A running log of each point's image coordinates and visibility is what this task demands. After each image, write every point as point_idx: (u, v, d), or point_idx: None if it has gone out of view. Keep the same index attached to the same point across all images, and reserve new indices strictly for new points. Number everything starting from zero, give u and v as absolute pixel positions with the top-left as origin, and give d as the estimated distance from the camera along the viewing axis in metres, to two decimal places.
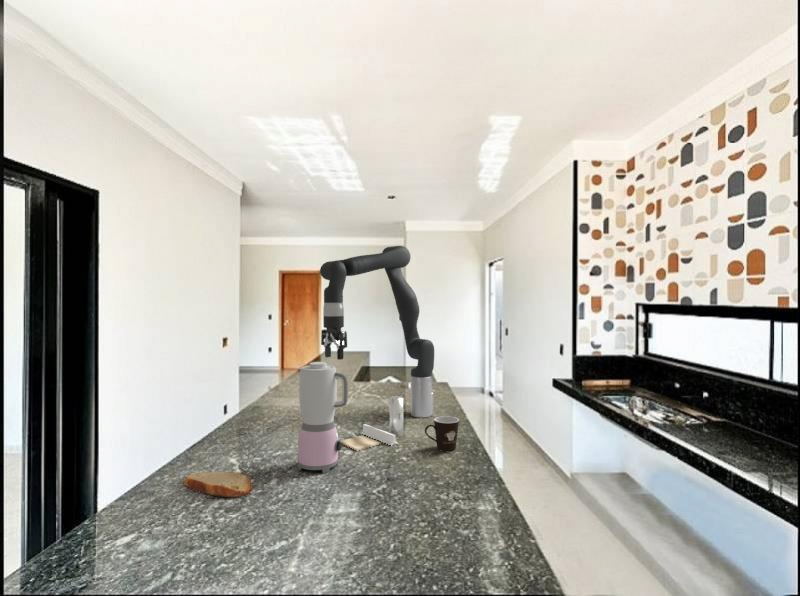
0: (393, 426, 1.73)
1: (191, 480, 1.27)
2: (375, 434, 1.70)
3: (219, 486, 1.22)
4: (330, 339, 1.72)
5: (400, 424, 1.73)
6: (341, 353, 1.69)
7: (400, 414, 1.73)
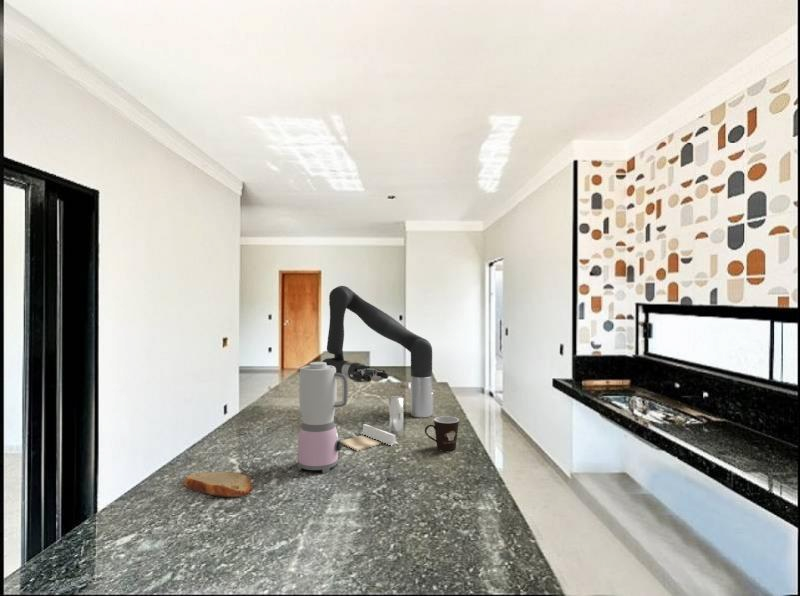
0: (393, 426, 1.73)
1: (191, 480, 1.27)
2: (375, 434, 1.70)
3: (219, 486, 1.22)
4: None
5: (400, 424, 1.73)
6: (364, 378, 1.81)
7: (400, 414, 1.73)
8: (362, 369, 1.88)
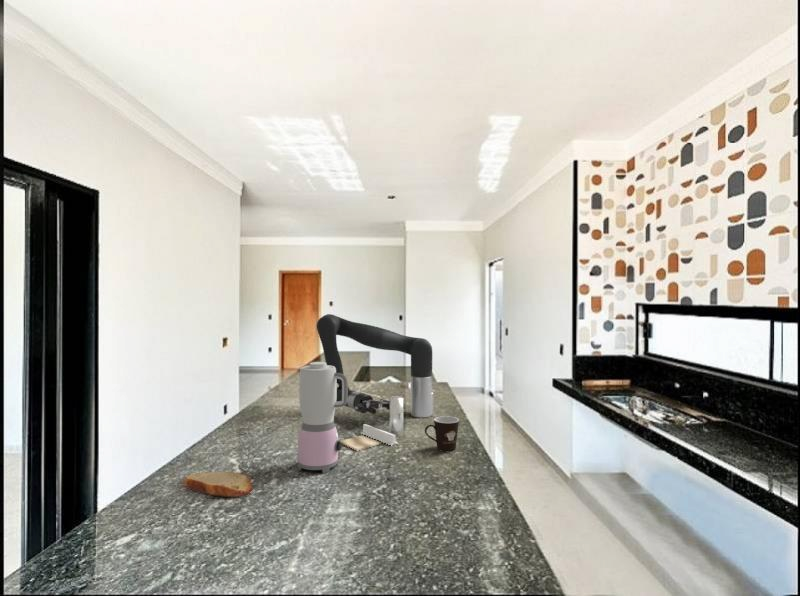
0: (393, 426, 1.73)
1: (191, 480, 1.27)
2: (375, 434, 1.70)
3: (219, 486, 1.22)
4: None
5: (400, 424, 1.73)
6: (369, 410, 1.79)
7: (400, 414, 1.73)
8: (367, 401, 1.86)
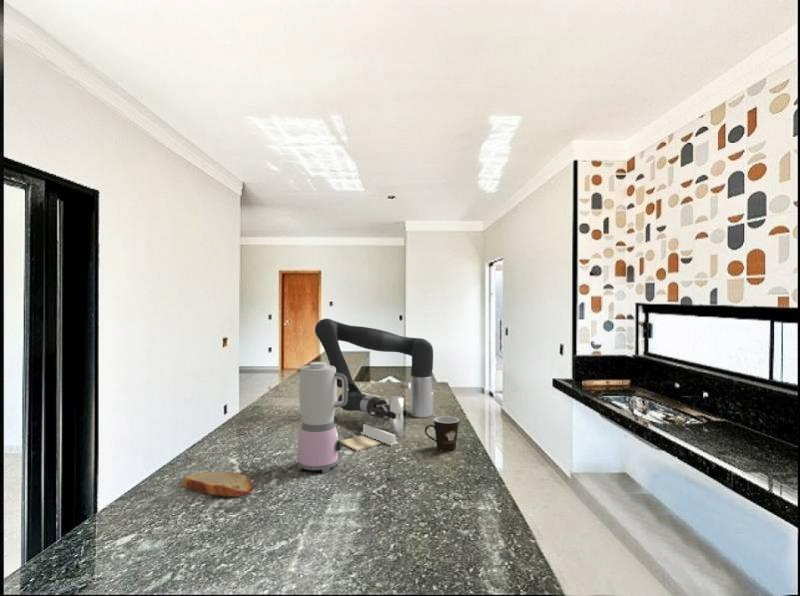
0: (393, 426, 1.73)
1: (190, 480, 1.27)
2: (375, 434, 1.70)
3: (220, 486, 1.22)
4: None
5: (400, 424, 1.73)
6: (389, 415, 1.72)
7: (400, 414, 1.73)
8: (382, 405, 1.79)
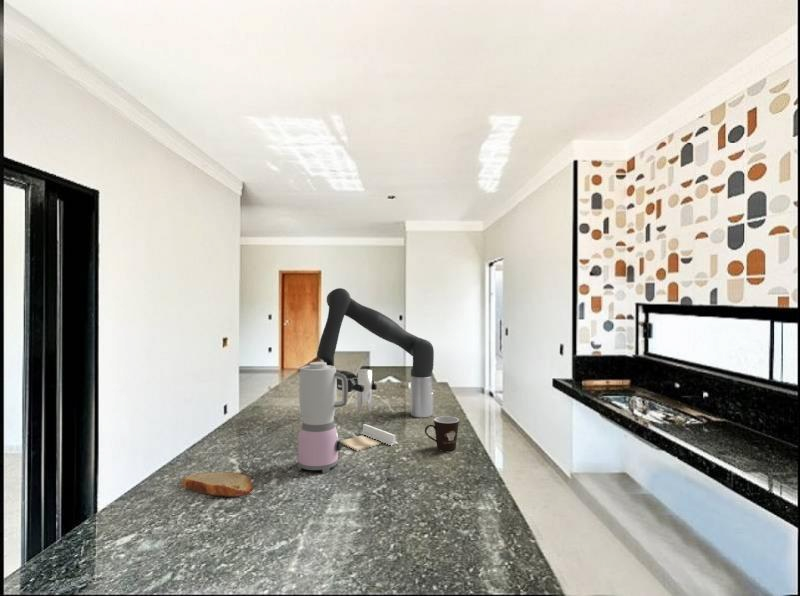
0: (360, 400, 1.63)
1: (190, 481, 1.27)
2: (375, 434, 1.70)
3: (220, 486, 1.22)
4: None
5: (368, 398, 1.64)
6: (356, 388, 1.63)
7: (368, 388, 1.64)
8: (350, 378, 1.70)
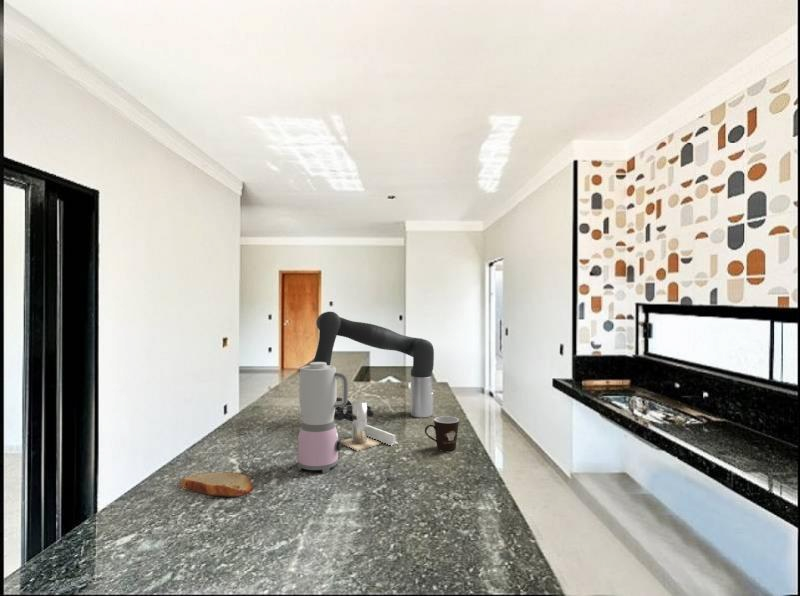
0: (355, 433, 1.62)
1: (189, 481, 1.26)
2: (375, 434, 1.70)
3: (220, 486, 1.22)
4: None
5: (363, 431, 1.62)
6: (346, 417, 1.61)
7: (363, 420, 1.62)
8: (345, 406, 1.68)
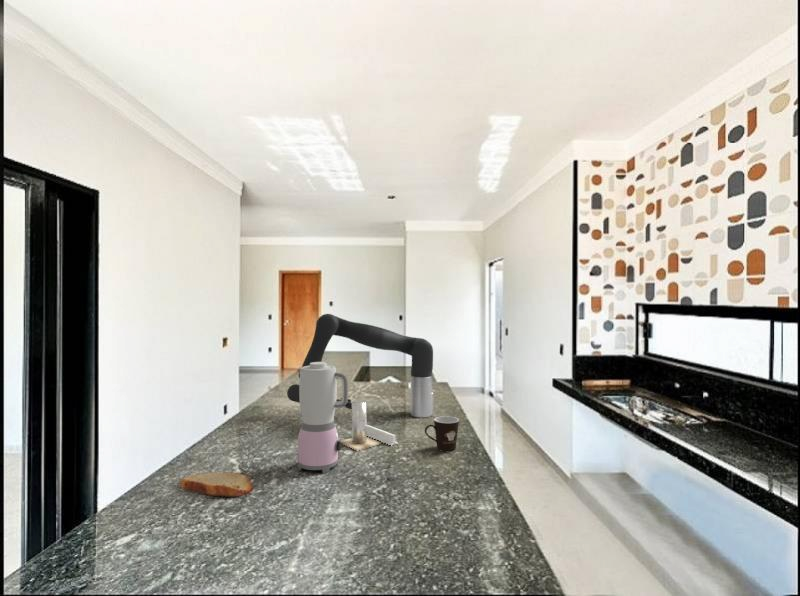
0: (355, 433, 1.62)
1: (189, 481, 1.26)
2: (375, 434, 1.70)
3: (220, 486, 1.22)
4: None
5: (362, 431, 1.62)
6: None
7: (363, 420, 1.62)
8: None
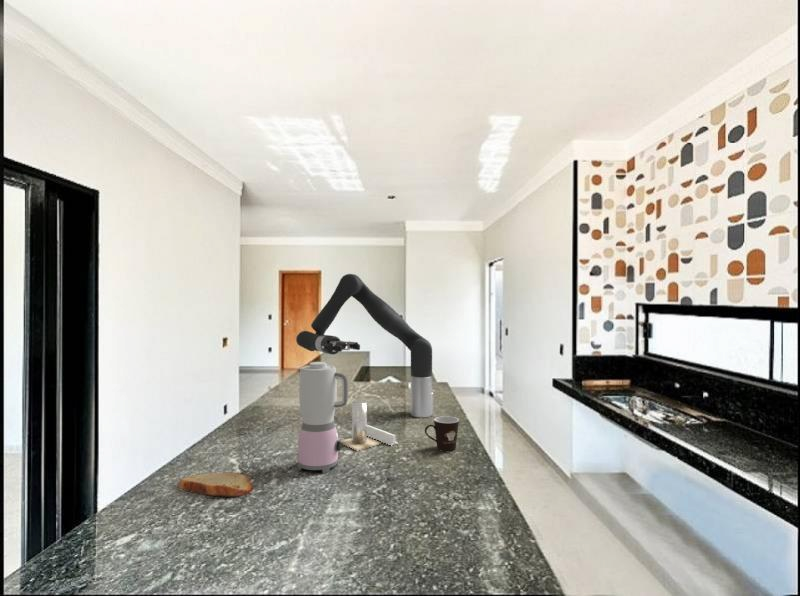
0: (355, 433, 1.62)
1: (188, 482, 1.26)
2: (375, 434, 1.70)
3: (221, 486, 1.22)
4: None
5: (362, 431, 1.62)
6: (335, 348, 1.79)
7: (363, 420, 1.62)
8: (334, 341, 1.86)
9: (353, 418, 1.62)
